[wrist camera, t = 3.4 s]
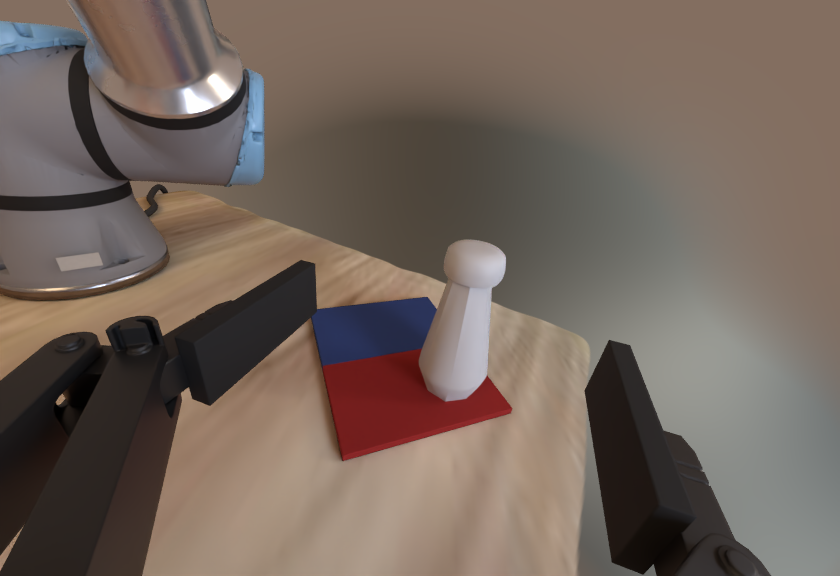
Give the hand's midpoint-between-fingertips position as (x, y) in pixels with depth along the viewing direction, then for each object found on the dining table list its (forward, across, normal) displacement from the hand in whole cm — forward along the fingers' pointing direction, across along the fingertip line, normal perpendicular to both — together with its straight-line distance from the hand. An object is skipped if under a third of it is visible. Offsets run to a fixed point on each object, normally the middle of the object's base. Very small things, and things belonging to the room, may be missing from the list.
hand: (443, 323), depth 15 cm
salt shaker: (+10, 0, -13) cm, 16 cm away
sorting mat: (+12, -6, -13) cm, 19 cm away
